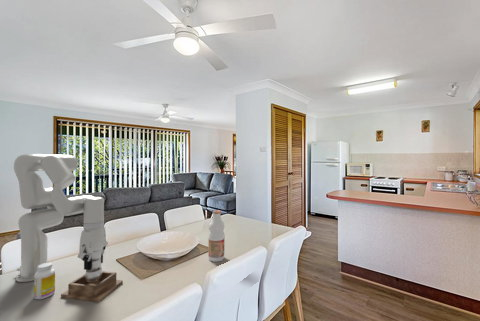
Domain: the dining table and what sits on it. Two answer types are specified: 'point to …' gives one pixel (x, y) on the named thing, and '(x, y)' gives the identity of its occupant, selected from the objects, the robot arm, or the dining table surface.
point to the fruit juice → (216, 238)
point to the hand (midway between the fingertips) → (93, 265)
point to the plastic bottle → (95, 265)
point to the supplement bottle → (44, 281)
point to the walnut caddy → (92, 287)
